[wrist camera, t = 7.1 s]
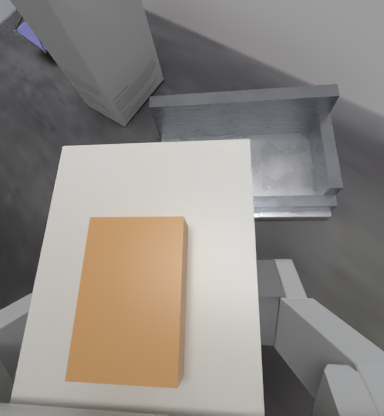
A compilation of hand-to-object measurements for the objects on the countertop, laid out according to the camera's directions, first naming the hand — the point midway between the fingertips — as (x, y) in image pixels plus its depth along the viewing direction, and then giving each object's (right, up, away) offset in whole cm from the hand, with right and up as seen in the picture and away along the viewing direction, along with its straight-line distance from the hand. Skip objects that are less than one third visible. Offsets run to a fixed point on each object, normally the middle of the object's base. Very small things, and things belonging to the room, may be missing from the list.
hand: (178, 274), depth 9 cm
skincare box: (-7, +16, +23) cm, 29 cm away
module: (+1, -2, +4) cm, 5 cm away
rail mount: (+5, +6, +18) cm, 20 cm away
